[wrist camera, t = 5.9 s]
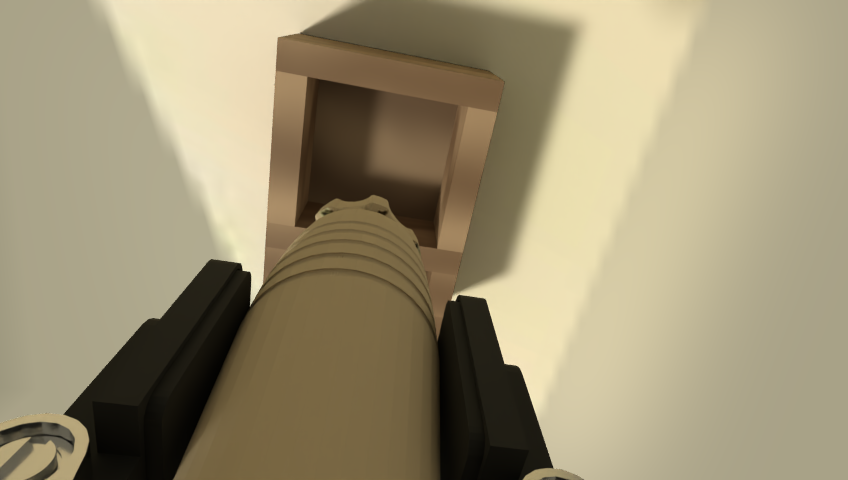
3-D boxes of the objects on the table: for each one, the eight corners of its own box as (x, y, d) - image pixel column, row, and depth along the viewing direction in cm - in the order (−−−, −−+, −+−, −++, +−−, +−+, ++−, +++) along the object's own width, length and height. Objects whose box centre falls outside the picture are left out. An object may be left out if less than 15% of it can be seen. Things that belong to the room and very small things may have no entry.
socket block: (298, 33, 27) (277, 37, 23) (489, 70, 29) (504, 81, 24) (280, 279, 34) (260, 320, 29) (435, 301, 35) (440, 344, 31)
